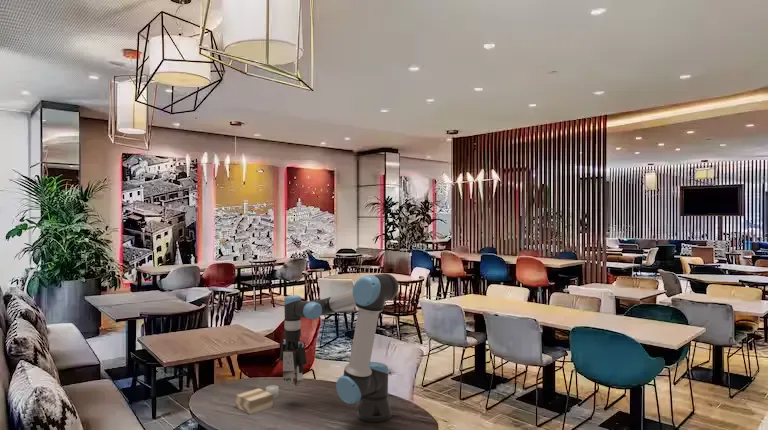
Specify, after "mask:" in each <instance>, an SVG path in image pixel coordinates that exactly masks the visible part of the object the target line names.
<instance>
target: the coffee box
mask: <svg viewBox="0 0 768 430" xmlns="http://www.w3.org/2000/svg"><path fill="white" fill-rule="evenodd" d="M297 353H298V351H293V350H292V349H288V350H285V351H284V352H283V362H282V387H285V388H297V387H299V385H300V384H301V383H303V378H302V379H301V380H297V365H298V362H297ZM300 363H301V362H300Z"/></svg>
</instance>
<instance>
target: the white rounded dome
mask: <svg viewBox="0 0 768 430" xmlns="http://www.w3.org/2000/svg"><path fill="white" fill-rule="evenodd" d="M265 391H266V392H269V393H271V394H273V401H274V400H276V399H279V386H278V385H275V384H271V385H270V384H269V385H267V386H266V387H265Z"/></svg>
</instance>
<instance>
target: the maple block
mask: <svg viewBox="0 0 768 430" xmlns="http://www.w3.org/2000/svg"><path fill="white" fill-rule="evenodd" d="M273 407H274V400H273V394H271V393H269V392H266V390H265V389H262V388H259V387H258V388H254V389H251V390H246V391H243V392H240V393H236V394H235V408H237V409H239V410H241V411H243V412H245V413H247V414H250V415H252V414H254V413H257V412H261V411H264V410H267V409H271V408H273Z"/></svg>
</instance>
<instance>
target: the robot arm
mask: <svg viewBox="0 0 768 430" xmlns="http://www.w3.org/2000/svg"><path fill="white" fill-rule="evenodd" d="M398 292H399V282H398V280H397V278H396V277H395V276H393V274H390V273H380V274H379V273H377V274H368V275H365V276H362V277H359V278H358V279H357V280H356V281H355V282H354V285H353V287H352V289H350V290H347V291H344V292H340V293H338V294H335V295H332V296H329V297H326V298H321V299H316V300H309V301H305V300H302V299H301V296H300V295H295V294H294V295H287V296H285V298H284V305H283V306H284V309H283V310H284V324H283V325H284V338H285V339H281V340H280V342H281V343H280V345H281V346H280V353H279V361H282V362H281V363H283V352H284V351H285V350H288V349H292V350H293V351H298V353H297V362H298V365H297V380H301V379H302V380H303V373H304V365H307V356H306V355H307V354H306V345H305V344H306V343H305V342H301V340H300V338H301V337H302V330H301V327H302V326H301V325H302V318H303V319H308V320H317V319H319V318H320V317H321V316H326V315H331V314H335V313H337V312H339V311H344V310H346V309H349V308H354V307H356V308H357V310H358V311H357V318H356V323H355V328H354V333H353V339H352V344H351V346H352V347H351V352H350V356H349V363H348V364H346V365H345V366H344V370H343V375H341V376H340V377H339V378H338V379H337V380H336V384H335V388H336V392H337V394H338V395H339V398H340V399H341V401H342V402H345V404H350V405H353V404H355V403H359V405H358V408H357V414H356V415H357V418H358V419H359V420H362V421H363V422H368V423H382V422H385V421H388V420H390V419H391V418H392V415H393V414H392V411H393V410H392V408H391V405H390V402H389V395H388V393H389V368H388V366H387V364H385V363H382V362H377V361H371V359H372V353H373V350H374V349H373V347H374V343H375V337H376V330H377V327H378V326H377V325H378V321H379V315H380V314H381V312H383V311H384V308H385V304H386V303H385V302H388V301H391V300H392V299H394V298H396V296H397V294H398ZM300 362H301V363H300Z"/></svg>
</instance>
